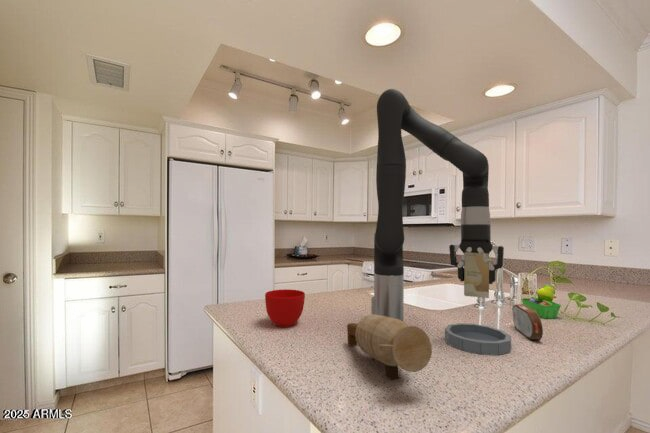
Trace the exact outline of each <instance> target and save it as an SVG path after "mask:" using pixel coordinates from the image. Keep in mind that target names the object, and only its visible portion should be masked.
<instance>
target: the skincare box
mask: <svg viewBox="0 0 650 433" xmlns="http://www.w3.org/2000/svg"><path fill="white" fill-rule="evenodd" d="M485 254H486V253H485ZM486 256H487V257H488V259H489V257H490V253H489V254H486ZM485 259H486V258H485ZM463 268H464V281H463V294H464V295H463V296H465V297H474V298H483V299H484V298H485V299H489V298H490V284H489V270H490V269H489V262H487V263H485V261H484V255H483V254H479V253H472V252H471V253H468V252H466V253H465V263H464V266H463Z"/></svg>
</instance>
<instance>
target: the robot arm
mask: <svg viewBox="0 0 650 433" xmlns="http://www.w3.org/2000/svg"><path fill="white" fill-rule="evenodd" d="M377 100H378V101H377V103H376V116H377V118H376V119H377V128H378V129H377V131H378V135H377V136H378V137H377V138H378V139H377V140H378V141H377V152H376V153H377V154H376V155H377V156H376V157H377V158H376V172H375V174H376V177H375V178H376V179H375V181H376V182H375V185H376V186H375V187H376V196H377V204H378V206H377V207H378V210H377V218H376V219H377V220H376V228H375V232H374V238H373V248H374V249H373V254H374V256H373V273H374V274H373V275H374V277H373V282H374V284H373V296H372V297H371V304H370V305H371V312H370V313H371V314H370V315H372V314H376V315H381V316H386V317H390V318H395V319H399V320H401V321H403V322H404V317H405V316H404V311H405V309H404V308H405V307H404V305H405V304H404V297H405V296H404V280H405V279H404V274H405V272H404V269H405V267H404V253H403V252H404V248H403V247H404V242H405V233H404V232H405V231H404V221H403V220H404V219H403V203H404V198H405V191H406V190H405V189H406V188H405V187H406V178H407V177H406V176H407V175H406V174H407V159H406V153H405V147H404V144H403V143H404V141H403V137H402V131H404V132H407V133H408V134H410V135H411V136H412V137H414V138H415V139H416V140H418V141H419V142H420V143H422V144H423V145H424V146H425V147H427V148H428V149H429V150H430V151H432V152H433V153H434V154H436V155H437V156H438V157H440V158H441V159H443V160H444V161H446V162H449V163H450V164H452V165H453V166H454V167H456V168H457V169H458V170H459V171H461V173H462V187H463V188H462V190H461V213H460V243H459V244H450V245H449V249H448V250H449V259H450V260H449V261H450V265H451V266H453V267H456V268H457V278H458V280H459V281H460V282H461V283H464V263H465V253H466V252H468V253H471V252H472V253H479V254H483V255H484V261H485V263H487V262H489V285H493V284H494V283H495V281H496V270H500V269H502V268H503V267H504V256H505V254H504V252H505V251H504V250H505V247H504V246H503V245H500V246H499V245H498V246H497V245H493V244H492V240H491V239H492V238H491V212H490V194H489V189H488V187H489V166H490V164H489V160H488V158H487V156H486V155H485V154H484V153H483V152H481V151H480V150H478V149H477V148H475V147H473V146H471V145H469V144H467V143H465V142H463V141H462V140H461V139H459V137H457V136H455V135H454V134H453V133H451V132H450V131H449V130H446V129H445V128H443V127H442V126H440V125H438V124H435V123H433V122H431V121H429V120H428V119H426V118H424V117H422V116H421V115H420V114H419V113H418V112H417V111H416V110H415V109H414V108H413V107H412V106H411V105H410V103H409V101H408V100H407V98H406V97H405V95H404V94H403V93H402V92H401V91H400V90H398V89H395V88H389V89H386V90H384V91H383V92H382V94H380V96H379V97H378V99H377ZM459 249H460V251H461V252H462V254H463V255H462V256H461V258H460V260H459V261H458V259H457V258H458V257H457V252H458V251H459ZM492 251H493V252H494V254H496V255H497V258H496V259H497V260H496V263H495V264H494V262H493V260H492V259H491V257H490V256H489V259H488V257H487V256H486V254H489V255H490V253H491V252H492ZM485 253H486V254H485ZM485 258H486V259H485Z"/></svg>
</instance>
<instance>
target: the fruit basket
mask: <svg viewBox="0 0 650 433" xmlns="http://www.w3.org/2000/svg"><path fill="white" fill-rule="evenodd" d="M554 293H555V290H554V288H553V286H552V285H549V284H544V285H543V286H542V287H541V288H539V289H537V290H536V292H535V294H536V296H537V297H534V296H532V297H530V298H529V297H526V298H525V297H524V298H523V297H522V298H521V303H522V304H524V305H526V306H528V307H530V308H531V309H533V310H535V311H536V312H537V313H538V315H539V317H540V319H557V318H558V314H559V311H560V308H561V307H562V304H559V303H557V302H554V298H555V296H554Z"/></svg>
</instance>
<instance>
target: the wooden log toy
mask: <svg viewBox="0 0 650 433" xmlns="http://www.w3.org/2000/svg"><path fill="white" fill-rule="evenodd" d="M346 331H347V345H348V346H358V347H359V349H360V350H361V351H362V352H363V353H365V354H366V355H368V356H369V357H371V361H379V362H380V363H381V364H384V369H385V370H384V371H385V372H384V373H385V378H387V379H389V380H395V379H400V376H399V373H400V372H399V367H400V368H401V370H404V371H406V372H409V373H417V372H420V371H422V370H423V369H424V368H426V367H427V366H428V364H429V362H430V361H431V358H432V353H433V351H432V350H433V348H432V343H431V339H430V337H429V336H428V334H427V333H426V332H425V331H424V330H423V329H422V328H420V327H418V326H415V325H413V326H412V325H410V326H409V325H408V324H407V323H406V322H405V321H404V320H403V321H401V320H399V319H395V318H390V317H386V316H381V315H376V314H372V315H371V314H368V315H365V316H364V317H362V318H361V319H360V320H359V321H358V324H357V323H354V322H352V323H351V322H350V323H347V325H346Z"/></svg>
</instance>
